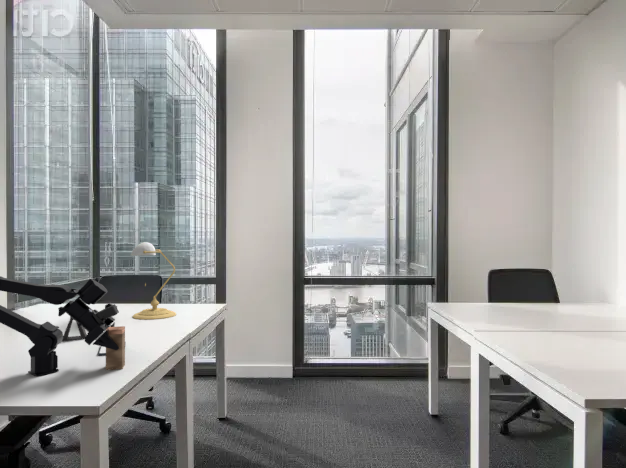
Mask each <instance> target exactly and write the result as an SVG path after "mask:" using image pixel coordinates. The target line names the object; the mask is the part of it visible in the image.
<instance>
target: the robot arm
mask: <svg viewBox="0 0 626 468" xmlns="http://www.w3.org/2000/svg"><path fill="white" fill-rule="evenodd" d="M0 292H6V293H12V294H18V295H21V296H22V295H23V296H27V297H34V298H37V299H39V300H41V301H43V302H45V303H48V304H51V305H55V306H59V305H62V304H64V303H66V302H67V303H66V304H64V306H60V307H58V313H57V315H58V317H62V316H63V315H64V314H67V315H68V316H69V318H70V317H72V318H73V319H74V320H73V321H75V322H76V324H77V323H79V324H78V326H79V327H80V326H82V327H83V328H84V329H85V331H86V334H87V336H86V337H85V339H84V342H85V343H86V344H87V345H88V346H91V344H92V345H94V346H95V345H96V346H99V347H101V346H103V347H106V348H110V349H114V350H118V349H119V346H118V345H117V344H116V343H115V342H114V340H113V339H112V338H111V337H110V336H109V328H108V327H116V322H114V321H116V319H115V318H114V317H115V316H116V315H118V314H119V313H120V311H119V310H118V305H116V304H115V303H114V304H113V303H111V302H109V303H107V304H105V305H104V308H103V309H101V310H97V309H96V308H95V309H92V307H90V306H89V305H95V304H97V302H99V301H100V300H101V299H102V298H103V297H104V296H105V295H106V294H107V293H108V289H107V288H106V287H105V286H104V285H103V284H102V283H100V282H98V281H97V280H94V279H93V278H89V279H88V280H87V281H86V283H85V284H84V285H83V286H82V287H81V288H80V289H79V288H71V287H70V286H69V285H67V284H39V283H34V282H29V281H24V280H19V279H18V280H17V279H13V278H7V277H3V276H0ZM76 297H77V298H76ZM74 298H76V299H74ZM71 299H74V300H71ZM0 324H2V325H4V326H6V327H8V328H9V329H12V330H14V331H16V332H18V333H21V335H24V336H26V337H27V338H28V339H29V341H30V342H31V344H33V345H32V346H31V348H29V349H28V351H27V352H28V355H29V356H30V370H29V371H27V373H28V374H29V375H33V376H34V377H35V376H36V377H39V376H44V375H48V374H52V373H57V372H59V369H58V367H59V366H58V365H59V364H58V362H59V361H58V360H59V359H58V358H59V355H57V351H56V349H57V347H58V345H60V344H61V342H63V341H62V340H63V336H64V333H63V331H62V330H61V329H60V326H58V325H54V324H52V322H50V321H47V320H46V322H44V323H42V324H40V323H37V322H35V321H32V320H31V319H28V318H27V317H24V316H22V315H20V314H18V313H17V312H15V311H13V310H11V309H9V308H7V307H5V306H2V304H0ZM78 326H77V327H78ZM107 328H108V329H107Z"/></svg>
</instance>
